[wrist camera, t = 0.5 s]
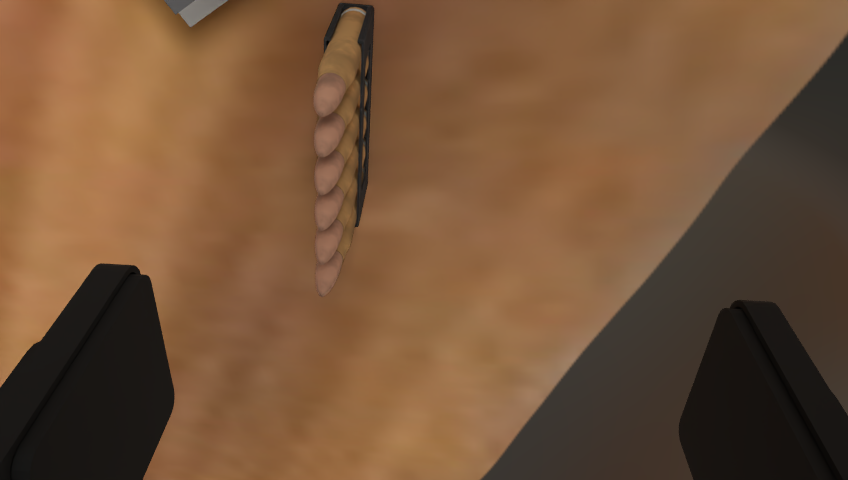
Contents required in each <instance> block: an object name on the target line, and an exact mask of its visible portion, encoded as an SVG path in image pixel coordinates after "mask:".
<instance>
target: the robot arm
mask: <svg viewBox="0 0 848 480" xmlns="http://www.w3.org/2000/svg"><path fill="white" fill-rule="evenodd" d="M173 405H174V388H173V383H172V378H171V374H170V369H169V364H168V359H167V355H166V350H165V345H164V340H163V336H162V331H161V326H160V321H159V317H158V312H157V307H156V302H155V298H154V293H153V288H152V283H151V280H150V278H149V276H147V275H141V274H140V271H139V269H138V268H137V267H136V266H134V265H118V264H98V265H96V266H95V267H94V268H93V270H92V271H91V272H90V274H89V275H88V277H87V278H86V279H85V281H84V282H83V283H82V285H81V286H80V288H79V289H78V290H77V292H76V293H75V295H74V296H73V297H72V299H71V300H70V301H69V303H68V304H67V306H66V307H65V308H64V310H63V311H62V312H61V314H60V315H59V317H58V318H57V319H56V321H55V322H54V323H53V325H52V326H51V328H50V329H49V330H48V332H47V333H46V335H45V336H44V337H43V339H42V340H41V341H40V342H38V343H36V344H34V345H33V346H32V347H31V348H30V349H29V350H28V351H27V352H26V354H25V355H24V356H23V358H22V359H21V360H20V362H19V363H18V365H17V366H16V367H15V369H14V370H13V371H12V373H11V374H10V375H9V377H8V378H7V379H6V381H5V382H4V384H3V385H2V386H1V388H0V480H143V477H144V475H145V473H146V470H147V468H148V466H149V463H150V461H151V459H152V457H153V454H154V452H155V450H156V447H157V445H158V443H159V441H160V438H161V436H162V434H163V431H164V429H165V427H166V425H167V422H168V420H169V418H170V415H171V413H172V410H173ZM679 437H680V442H681V445H682V448H683V451H684V454H685V456H686V459H687V462H688V465H689V468H690V471H691V474H692V477H693V479H694V480H848V416H847V414H846V412H845V411H844V409H843V407H842V406H841V404H840V403H839V401H838V400H837V398H836V397H835V395H834V394H833V393H832V392H831V390H830V389H829V387H828V386H827V384H826V383H825V381H824V379H823V378H822V376H821V374H820V373H819V371H818V370H817V368H816V366H815V365H814V363H813V362H812V360H811V359H810V357H809V355H808V354H807V352H806V350H805V349H804V347H803V346H802V344H801V342H800V341H799V339H798V338H797V336H796V334H795V333H794V331H793V329H792V328H791V327H790V325H789V323H788V321H787V320H786V318H785V317H784V315H783V313H782V312H781V310H780V309H779V307H778V306H777V305H776V304H775V303H773V302H765V301H747V300H737V301H735V302H733V304H732V305H731V307H730V308H724V309H722V310H721V311H720V313H719V315H718V318H717V321H716V323H715V326H714V329H713V332H712V334H711V337H710V340H709V342H708V345H707V348H706V351H705V353H704V356H703V359H702V362H701V364H700V367H699V370H698V372H697V375H696V378H695V381H694V383H693V386H692V389H691V392H690V394H689V397H688V400H687V402H686V405H685V408H684V411H683V413H682V416H681V419H680V423H679Z"/></svg>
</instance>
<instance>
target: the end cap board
mask: <svg viewBox="0 0 848 480" xmlns="http://www.w3.org/2000/svg"><path fill="white" fill-rule="evenodd" d="M164 1H165V2H166V3H167V5H168V6H169V7H170V8H171V9H172V11H173V12H174V13H175V14H177V13H179V14H180V15H181V17H182V18H183V19H184V20H185V22H186V23H187V24H188V25H189V27H192V26H193V25H194V24H196V23H197V22H199V21H200V20H201V19H203V18H204V17H206V16H207V15H208V14H210V13H211V12H213V11H214V10H215V9H217V8H218V7H219V6H221V5H222V4H224V3H225V2H226V1H228V0H164Z"/></svg>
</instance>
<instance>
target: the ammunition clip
mask: <svg viewBox="0 0 848 480" xmlns="http://www.w3.org/2000/svg"><path fill="white" fill-rule="evenodd" d="M373 29H374V7H373V6H371V5H360V4H349V3H339V5H338V7H337V10H336V12H335V14H334V17H333V19H332V21H331V24H330V26H329V28H328V30H327V33H326V35H325V37H324V55H323V58H322V60H321V62H320V65H319V68H318V80H317V85H316V87H315V90H314V109H315V111H316V113H317V115H318V119H317V125H316V128H315V132H314V147H315V151H316V153H317V155H318V156H317V162H316V166H315V172H314V182H315V188H316V190H317V198H316V202H315V222H316V225H317V227H318V228H317V232H316V237H315V253H316V258H317V264H316V272H315V282H316V289H317V292H318V294H319V296H321V297H323V296H325V295H326V294H327V293H328V292H329V291H330V290H331V289H332V287H333V286H334V284H335V282H336V280H337V278H338V276H339V273H340V270H341V266H342V263H343V261H344V258H345V254H346V253H347V251H348V249H349V247H350V245H351V241H352V237H353V232H354V228H355V227H358V226H359V221H360V217H361V212H362V207H363V203H364V198H365V193H366V189H367V184H368V159H369V133H370V107H371V81H372V55H373Z"/></svg>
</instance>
